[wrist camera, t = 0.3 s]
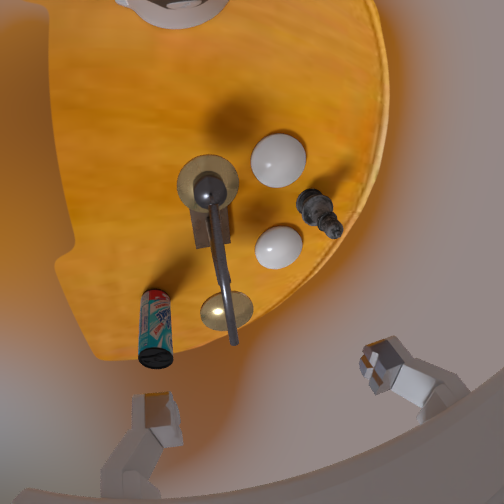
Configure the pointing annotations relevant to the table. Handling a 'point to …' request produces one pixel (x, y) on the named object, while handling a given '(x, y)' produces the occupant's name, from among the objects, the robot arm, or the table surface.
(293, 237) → the dish high side
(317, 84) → the table surface
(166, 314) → the beverage can
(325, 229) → the chess piece
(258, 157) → the dish low side
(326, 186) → the table surface
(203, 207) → the balance
